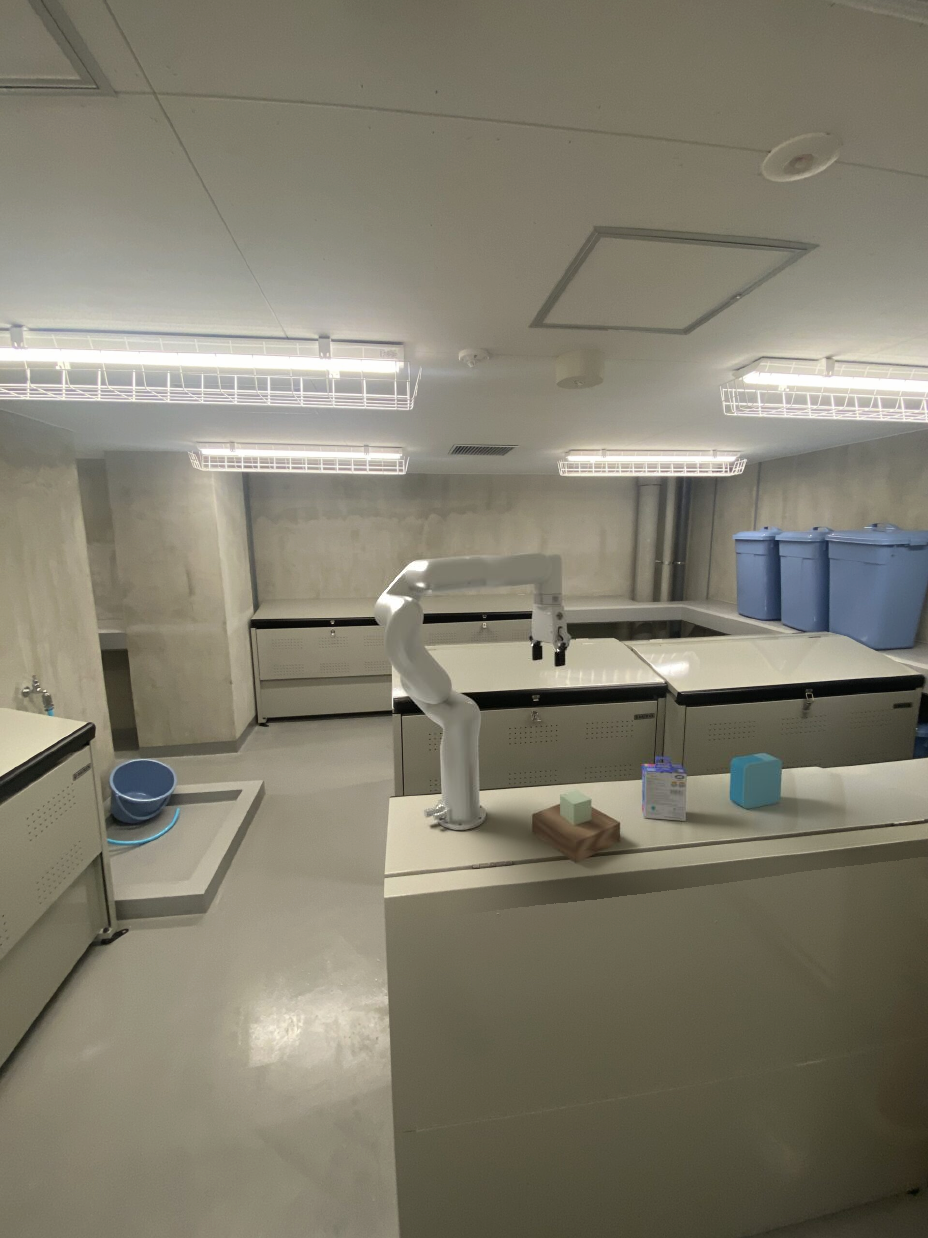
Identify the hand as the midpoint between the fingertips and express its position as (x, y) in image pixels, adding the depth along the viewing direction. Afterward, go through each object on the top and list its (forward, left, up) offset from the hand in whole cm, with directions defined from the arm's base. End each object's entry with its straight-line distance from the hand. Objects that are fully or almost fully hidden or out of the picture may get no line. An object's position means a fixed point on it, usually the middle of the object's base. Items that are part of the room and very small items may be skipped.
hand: (548, 662), depth 129 cm
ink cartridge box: (+16, -25, -37) cm, 47 cm away
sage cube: (-9, -21, -32) cm, 39 cm away
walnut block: (-9, -21, -37) cm, 44 cm away
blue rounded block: (+41, -33, -37) cm, 64 cm away
